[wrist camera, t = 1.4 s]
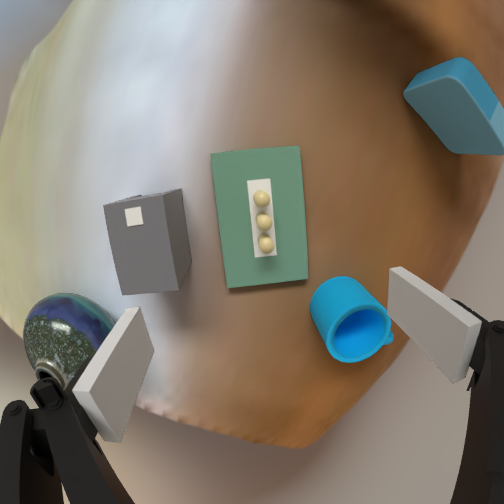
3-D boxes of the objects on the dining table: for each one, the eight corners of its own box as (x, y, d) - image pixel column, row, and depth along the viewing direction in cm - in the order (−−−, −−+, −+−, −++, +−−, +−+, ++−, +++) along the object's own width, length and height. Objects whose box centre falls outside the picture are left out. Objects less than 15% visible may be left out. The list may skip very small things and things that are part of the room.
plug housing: (134, 196, 33) (102, 205, 24) (181, 188, 33) (162, 195, 24) (146, 266, 35) (122, 295, 27) (191, 261, 35) (178, 290, 27)
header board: (211, 154, 32) (208, 152, 28) (297, 146, 32) (305, 143, 28) (227, 284, 36) (226, 298, 32) (306, 275, 37) (314, 287, 33)
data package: (461, 134, 32) (518, 133, 21) (450, 154, 33) (508, 157, 22) (411, 74, 30) (465, 53, 18) (398, 93, 31) (453, 74, 19)
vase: (128, 380, 40) (103, 440, 28) (49, 345, 38) (10, 391, 25) (143, 302, 37) (107, 360, 24) (51, 264, 34) (-5, 302, 22)
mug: (298, 318, 38) (312, 352, 31) (329, 266, 37) (352, 291, 29) (363, 343, 40) (385, 375, 33) (393, 298, 39) (421, 324, 31)
